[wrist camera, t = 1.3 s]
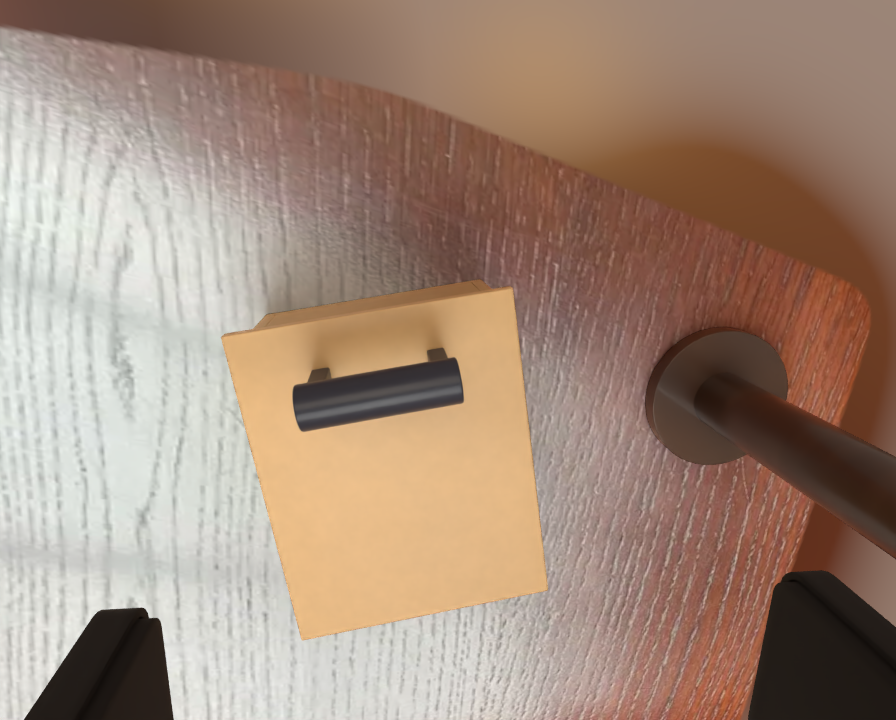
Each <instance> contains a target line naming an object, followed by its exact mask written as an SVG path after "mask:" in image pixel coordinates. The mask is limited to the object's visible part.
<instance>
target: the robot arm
mask: <svg viewBox="0 0 896 720" xmlns="http://www.w3.org/2000/svg"><path fill="white" fill-rule="evenodd" d="M24 720H174V719H173V712H172V704H171V696H170V688H169V680H168V673H167V665H166V657H165V649H164V641H163V634H162V626H161V622H160V620H159V619H158V618H149V617H148V613H147V611H146V609H144V608H128V609H110V610H101V611H98V612H97V613H96V614H95V615H94V616H93V618H92V619H91V621H90V622H89V624H88V625H87V627H86V628H85V630H84V631H83V633H82V634H81V636H80V637H79V639H78V640H77V641H76V643H75V644H74V646H73V647H72V649H71V650H70V652H69V653H68V655H67V656H66V658H65V659H64V661H63V662H62V664H61V665H60V667H59V668H58V670H57V671H56V673H55V674H54V676H53V677H52V679H51V680H50V682H49V683H48V685H47V686H46V688H45V689H44V691H43V692H42V694H41V695H40V697H39V698H38V700H37V701H36V703H35V704H34V706H33V707H32V709H31V710H30V712H29V713H28V714H27V716H26V717H25V719H24ZM748 720H896V627H895V626H894V625H892V624H891V623H890V622H889V621H888V620H886V619H885V618H884V617H883V616H882V615H881V614H879V613H878V612H877V611H876V610H875V609H873V608H872V607H871V606H870V605H869V604H867V603H866V602H865V601H864V600H863V599H861V598H860V597H859V596H858V595H857V594H855V593H854V592H853V591H852V590H851V589H850V588H848V587H847V586H846V585H845V584H844V583H842V582H841V581H840V580H839V579H838V578H836V577H835V576H834V575H832V574H831V573H829V572H826V571H822V570H821V571H803V572H790V573H787V574H785V576H784V577H783V578H782V581H781V583H778V584H777V585H776V586H775V588H774V590H773V595H772V600H771V605H770V610H769V615H768V620H767V625H766V630H765V635H764V640H763V645H762V650H761V655H760V660H759V665H758V670H757V675H756V680H755V685H754V690H753V695H752V700H751V705H750V710H749V715H748Z"/></svg>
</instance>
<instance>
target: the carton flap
mask: <svg viewBox="0 0 896 720" xmlns="http://www.w3.org/2000/svg"><path fill="white" fill-rule="evenodd" d="M221 339H222V343H223V347H224V350H225V354H226V358H227V362H228V365H229V369H230V373H231V377H232V380H233V384H234V388H235V392H236V395H237V399H238V403H239V407H240V410H241V414H242V418H243V422H244V425H245V429H246V433H247V437H248V440H249V444H250V448H251V452H252V455H253V459H254V463H255V466H256V470H257V474H258V478H259V481H260V485H261V489H262V493H263V496H264V500H265V504H266V508H267V511H268V515H269V519H270V523H271V526H272V530H273V534H274V538H275V541H276V545H277V549H278V553H279V556H280V560H281V564H282V568H283V571H284V575H285V579H286V583H287V586H288V590H289V594H290V598H291V601H292V605H293V609H294V613H295V616H296V620H297V624H298V628H299V631H300V635H301V639H302V640H307V639H312V638H316V637H321V636H326V635H331V634H336V633H341V632H346V631H351V630H356V629H361V628H366V627H371V626H375V625H380V624H385V623H390V622H395V621H400V620H405V619H410V618H415V617H420V616H425V615H430V614H434V613H439V612H444V611H449V610H454V609H459V608H464V607H469V606H474V605H479V604H484V603H489V602H493V601H498V600H503V599H508V598H513V597H518V596H523V595H528V594H533V593H538V592H543V591H547V590H548V585H547V576H546V568H545V559H544V550H543V542H542V533H541V525H540V516H539V508H538V499H537V490H536V482H535V473H534V465H533V456H532V448H531V439H530V430H529V422H528V413H527V405H526V396H525V388H524V379H523V370H522V362H521V353H520V345H519V336H518V328H517V319H516V311H515V302H514V293H513V288H512V287H510V286H508V287H502V288H496V289H490V290H484V291H478V292H472V293H466V294H460V295H454V296H448V297H442V298H436V299H430V300H424V301H418V302H412V303H406V304H400V305H394V306H388V307H382V308H376V309H370V310H364V311H358V312H352V313H346V314H340V315H334V316H328V317H322V318H316V319H310V320H304V321H298V322H292V323H286V324H280V325H275V326H269V327H263V328H257V329H251V330H245V331H239V332H233V333H227V334H224V335H223V336H222V337H221Z"/></svg>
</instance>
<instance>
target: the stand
mask: <svg viewBox="0 0 896 720" xmlns="http://www.w3.org/2000/svg"><path fill="white" fill-rule="evenodd" d="M787 392H788V380H787V374H786V370H785V367H784V364H783V362H782V360H781V358H780V356H779V355H778V353H777V352H776V351H775V349H774V348H773V347H772V346H771V345H770V344H769V343H767V342H766V341H764V340H763V339H761V338H759V337H758V336H756V335H753V334H750V333H748V332H745V331H742V330H739V329H735V328H729V327H717V328H709V329H705V330H701V331H699V332H696V333H693V334H691V335H689V336H687V337H686V338H684V339H682V340H681V341H679V342H678V343H677V344H675V345H674V346H673V347H672V348H671V349H670V350H669V351H668V352H667V353H666V354H665V355H664V356H663V357H662V359H661V360H660V361H659V363H658V364H657V366H656V368H655V370H654V371H653V373H652V376H651V378H650V381H649V384H648V388H647V393H646V415H647V418H648V422H649V425H650V427H651V429H652V431H653V433H654V434H655V436H656V437H657V439H658V440H659V441H660V442H661V443H662V444H663V445H664V446H665V447H666V448H668V449H669V450H670V451H671V452H672V453H673V454H675V455H676V456H678V457H679V458H681V459H684V460H686V461H688V462H692V463H695V464H702V465H716V464H723V463H727V462H730V461H733V460H736V459H738V458H740V457H742V456H744V455H746V454H748V455H749V456H751V457H752V458H754V459H755V460H756V461H758V462H759V463H761V464H762V465H763V466H765V467H766V468H768V469H769V470H771V471H772V472H773V473H775V474H776V475H778V476H779V477H780V478H782V479H783V480H785V481H786V482H787V483H789V484H790V485H792V486H793V487H795V488H796V489H797V490H799V491H800V492H802V493H803V494H804V495H806V496H807V497H809V498H810V499H811V500H813V501H814V502H816V503H817V504H819V505H820V506H821V507H823V508H824V509H826V510H827V511H828V512H830V513H831V514H833V515H834V516H835V517H837V518H838V519H840V520H841V521H843V522H844V523H845V524H847V525H848V526H850V527H851V528H852V529H854V530H855V531H857V532H858V533H859V534H861V535H862V536H864V537H865V538H867V539H868V540H869V541H871V542H872V543H874V544H875V545H876V546H878V547H879V548H881V549H882V550H883V551H885V552H886V553H888V554H889V555H891V556H892V557H893V558H895V559H896V457H895V456H893V455H891V454H889V453H887V452H885V451H883V450H881V449H879V448H877V447H875V446H874V445H872V444H869V443H868V442H866V441H864V440H862V439H859V438H858V437H856V436H854V435H852V434H850V433H848V432H846V431H844V430H842V429H840V428H838V427H836V426H834V425H832V424H830V423H828V422H827V421H825V420H823V419H821V418H819V417H817V416H815V415H813V414H811V413H809V412H807V411H805V410H803V409H801V408H799V407H797V406H795V405H793V404H791V403H789V402H787V401H786V399H787Z"/></svg>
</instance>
